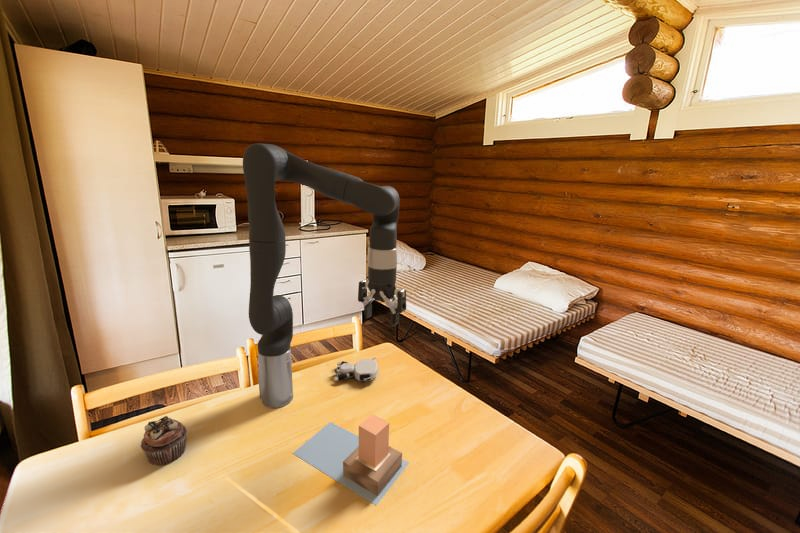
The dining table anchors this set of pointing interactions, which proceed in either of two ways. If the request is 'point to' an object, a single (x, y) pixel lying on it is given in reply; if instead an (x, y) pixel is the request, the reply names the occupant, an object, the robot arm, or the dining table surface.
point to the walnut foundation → (372, 470)
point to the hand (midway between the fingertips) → (381, 321)
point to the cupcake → (164, 441)
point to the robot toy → (357, 370)
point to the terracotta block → (373, 440)
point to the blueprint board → (338, 458)
